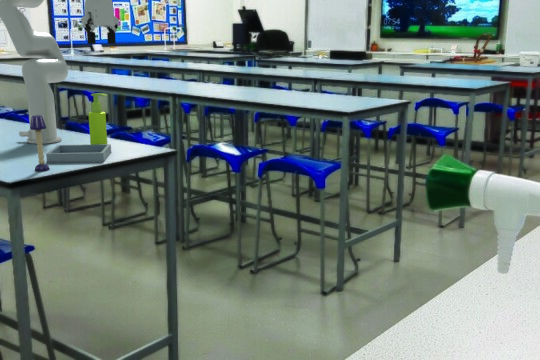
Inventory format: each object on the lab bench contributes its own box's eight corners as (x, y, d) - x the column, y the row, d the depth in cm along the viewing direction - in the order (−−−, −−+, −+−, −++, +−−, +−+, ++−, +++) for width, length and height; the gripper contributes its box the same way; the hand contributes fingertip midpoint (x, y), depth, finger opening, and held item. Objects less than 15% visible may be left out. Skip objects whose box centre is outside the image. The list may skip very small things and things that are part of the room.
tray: (46, 162, 194) (46, 153, 193) (58, 153, 210) (57, 145, 209) (103, 162, 196) (103, 153, 195) (111, 152, 211) (110, 144, 211)
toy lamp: (30, 170, 183) (25, 116, 179) (41, 167, 188) (36, 114, 184) (43, 171, 182) (38, 116, 178) (53, 168, 186) (49, 115, 182)
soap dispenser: (105, 150, 215) (102, 94, 210) (87, 149, 217) (84, 94, 212) (113, 147, 221) (109, 92, 216) (95, 146, 222) (92, 92, 217)
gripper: (108, -6, 214) (111, 43, 218) (71, -9, 199) (75, 44, 203) (124, -7, 210) (127, 43, 214) (88, -10, 196) (91, 44, 200)
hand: (101, 43), depth 209 cm, fingers open, 9 cm apart
